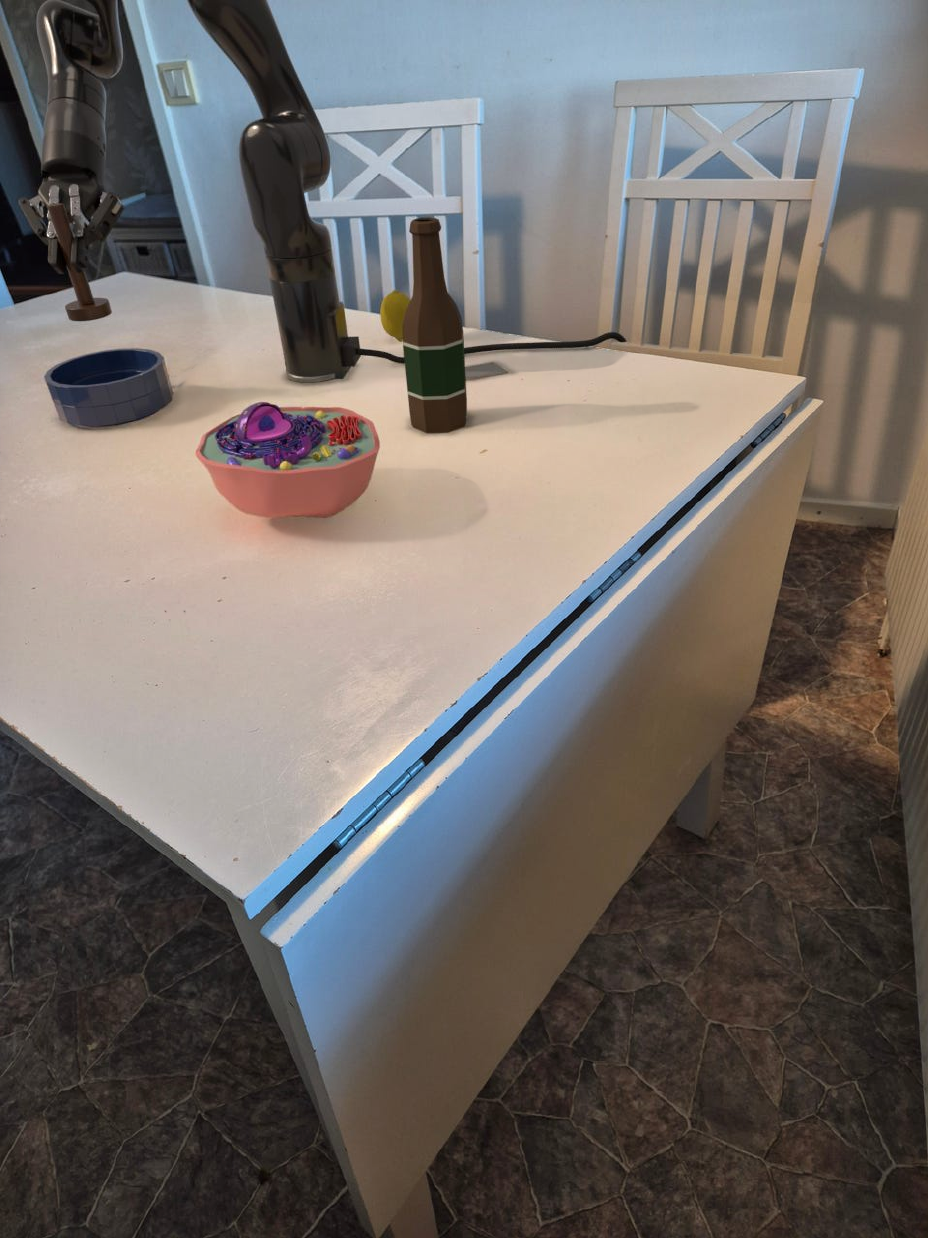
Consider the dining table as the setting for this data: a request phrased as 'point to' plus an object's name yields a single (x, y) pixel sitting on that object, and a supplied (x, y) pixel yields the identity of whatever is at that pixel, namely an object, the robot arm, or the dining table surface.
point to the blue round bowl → (110, 387)
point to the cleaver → (483, 370)
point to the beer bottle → (433, 339)
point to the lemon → (394, 313)
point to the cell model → (291, 459)
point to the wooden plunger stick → (76, 273)
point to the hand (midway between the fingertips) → (68, 269)
